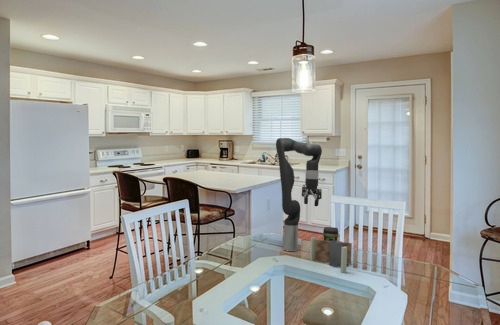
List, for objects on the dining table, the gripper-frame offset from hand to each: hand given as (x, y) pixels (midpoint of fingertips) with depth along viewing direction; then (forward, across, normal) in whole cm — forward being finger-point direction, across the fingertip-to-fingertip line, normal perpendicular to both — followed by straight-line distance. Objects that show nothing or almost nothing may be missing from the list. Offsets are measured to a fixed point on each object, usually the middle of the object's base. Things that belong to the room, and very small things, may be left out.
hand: (311, 205), depth 198 cm
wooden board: (+34, +11, +4) cm, 36 cm away
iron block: (+34, +12, +9) cm, 37 cm away
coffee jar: (+34, -1, +19) cm, 39 cm away
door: (+33, +8, +11) cm, 36 cm away
